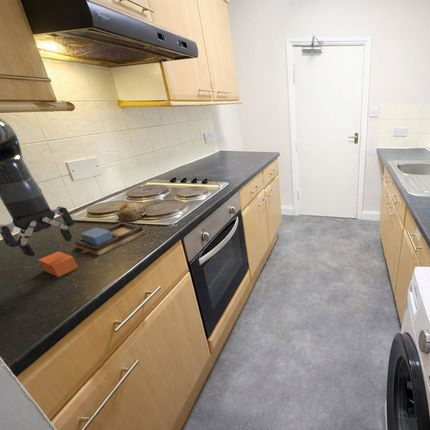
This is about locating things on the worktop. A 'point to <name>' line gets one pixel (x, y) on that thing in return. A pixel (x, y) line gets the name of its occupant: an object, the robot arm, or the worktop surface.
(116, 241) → the brown wooden tray
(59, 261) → the terracotta pad
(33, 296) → the worktop surface
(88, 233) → the blue bevelled block
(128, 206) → the bread roll
